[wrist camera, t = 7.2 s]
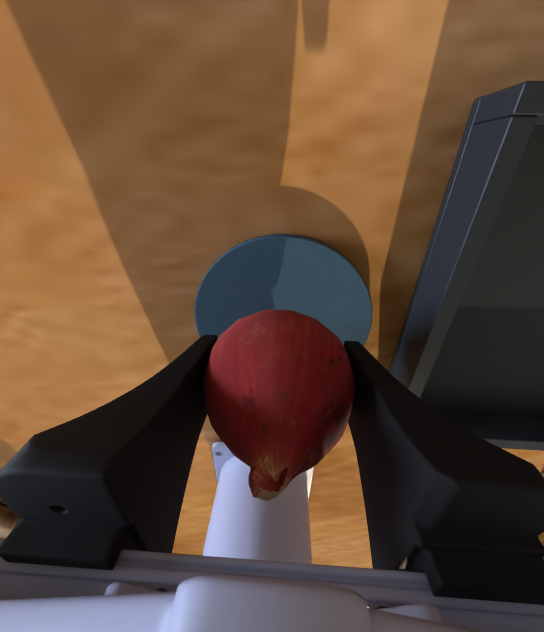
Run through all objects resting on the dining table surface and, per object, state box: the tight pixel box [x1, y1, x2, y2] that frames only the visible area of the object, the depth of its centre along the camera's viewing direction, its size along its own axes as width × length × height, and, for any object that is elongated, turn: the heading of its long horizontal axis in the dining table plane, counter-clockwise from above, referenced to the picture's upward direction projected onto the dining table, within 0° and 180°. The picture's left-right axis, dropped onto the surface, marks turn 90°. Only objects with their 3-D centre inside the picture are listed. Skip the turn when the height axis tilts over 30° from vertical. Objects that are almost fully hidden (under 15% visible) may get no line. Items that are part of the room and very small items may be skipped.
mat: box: [195, 234, 372, 346], centre depth 14 cm, size 10×10×1 cm
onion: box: [203, 309, 356, 501], centre depth 10 cm, size 6×6×8 cm
